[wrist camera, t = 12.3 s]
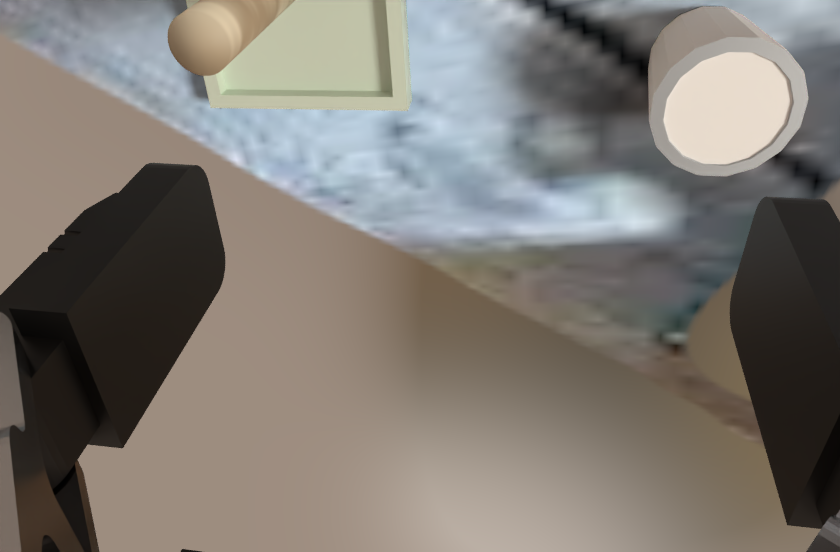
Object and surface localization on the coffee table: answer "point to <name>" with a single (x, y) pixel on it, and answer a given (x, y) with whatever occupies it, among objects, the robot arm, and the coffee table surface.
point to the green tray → (322, 60)
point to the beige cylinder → (722, 93)
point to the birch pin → (219, 31)
